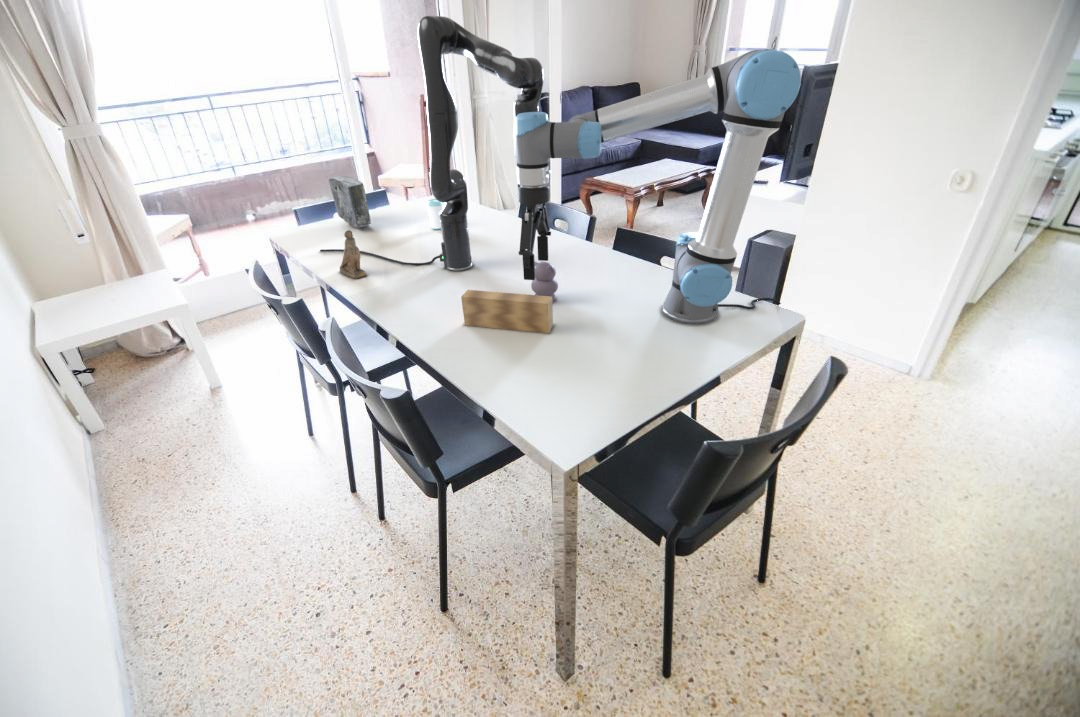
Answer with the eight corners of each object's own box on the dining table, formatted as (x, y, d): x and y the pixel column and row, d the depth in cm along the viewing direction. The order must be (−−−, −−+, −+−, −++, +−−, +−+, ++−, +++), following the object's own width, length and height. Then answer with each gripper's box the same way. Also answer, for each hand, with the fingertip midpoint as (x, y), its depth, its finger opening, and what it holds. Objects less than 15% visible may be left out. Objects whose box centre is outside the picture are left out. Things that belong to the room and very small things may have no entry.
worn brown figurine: (368, 281, 178) (362, 235, 166) (353, 285, 175) (347, 238, 163) (352, 266, 184) (346, 221, 172) (338, 270, 181) (331, 224, 169)
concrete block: (376, 229, 224) (366, 183, 213) (356, 233, 219) (346, 186, 209) (356, 217, 242) (347, 174, 232) (338, 220, 238) (327, 177, 228)
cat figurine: (563, 298, 154) (563, 262, 147) (546, 307, 149) (545, 269, 143) (543, 291, 159) (542, 255, 152) (526, 299, 154) (524, 263, 148)
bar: (464, 325, 141) (461, 296, 137) (471, 317, 145) (467, 289, 141) (548, 333, 135) (547, 303, 131) (552, 325, 139) (552, 296, 135)
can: (445, 229, 220) (441, 202, 214) (429, 230, 220) (425, 202, 214) (447, 224, 226) (444, 198, 220) (432, 225, 226) (428, 198, 220)
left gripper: (521, 135, 148) (523, 191, 157) (507, 143, 136) (510, 203, 145) (545, 136, 146) (546, 192, 155) (533, 144, 135) (535, 204, 143)
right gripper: (534, 198, 107) (538, 289, 118) (560, 174, 127) (561, 253, 138) (501, 197, 108) (508, 287, 120) (532, 173, 129) (535, 252, 140)
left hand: (528, 197), depth 150 cm, fingers open, 8 cm apart
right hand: (536, 269), depth 129 cm, fingers open, 13 cm apart
